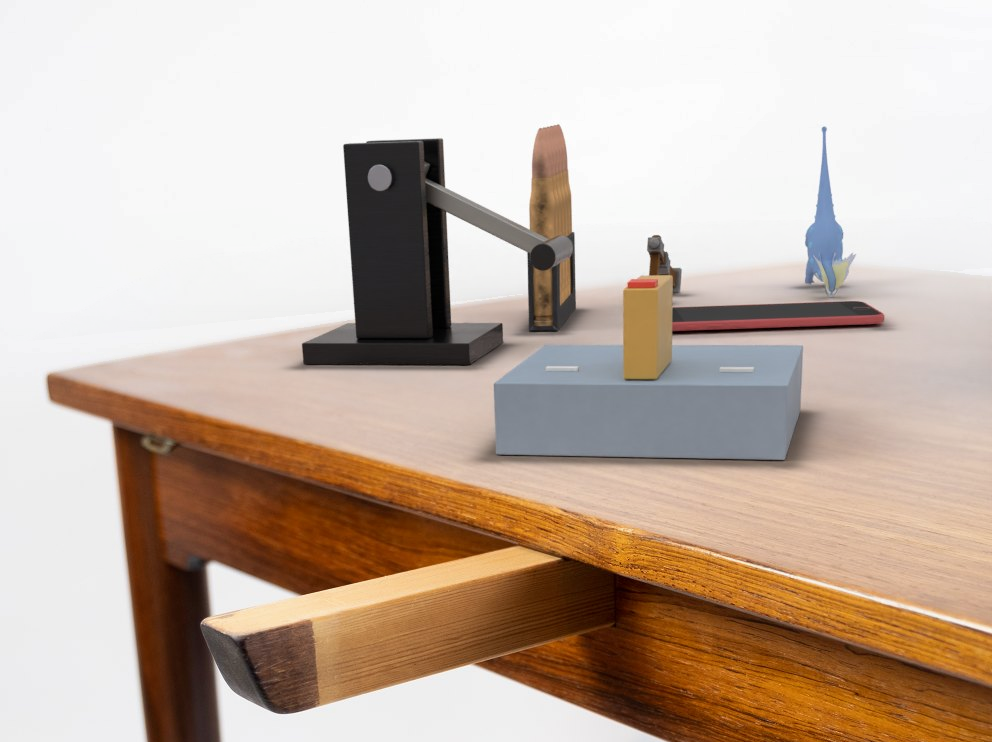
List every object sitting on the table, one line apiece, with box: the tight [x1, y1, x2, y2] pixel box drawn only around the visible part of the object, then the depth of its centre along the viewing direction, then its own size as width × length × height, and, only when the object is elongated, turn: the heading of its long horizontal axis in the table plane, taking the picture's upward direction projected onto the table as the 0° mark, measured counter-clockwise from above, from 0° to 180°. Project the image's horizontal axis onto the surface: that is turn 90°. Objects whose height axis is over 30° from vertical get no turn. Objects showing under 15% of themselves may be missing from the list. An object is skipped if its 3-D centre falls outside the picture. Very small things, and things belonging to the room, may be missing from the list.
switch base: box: [493, 344, 804, 461], centre depth 66 cm, size 12×10×3 cm
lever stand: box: [301, 137, 504, 366], centre depth 88 cm, size 10×8×12 cm
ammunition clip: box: [526, 124, 577, 332], centre depth 98 cm, size 11×2×12 cm, turn 170°
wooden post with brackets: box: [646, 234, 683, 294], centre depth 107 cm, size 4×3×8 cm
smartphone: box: [672, 300, 885, 332], centre depth 95 cm, size 7×1×14 cm
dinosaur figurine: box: [804, 126, 857, 298], centre depth 109 cm, size 3×15×10 cm
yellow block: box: [622, 275, 674, 380], centre depth 63 cm, size 5×1×4 cm, turn 166°
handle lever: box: [424, 161, 573, 271], centre depth 86 cm, size 12×5×2 cm, turn 75°
